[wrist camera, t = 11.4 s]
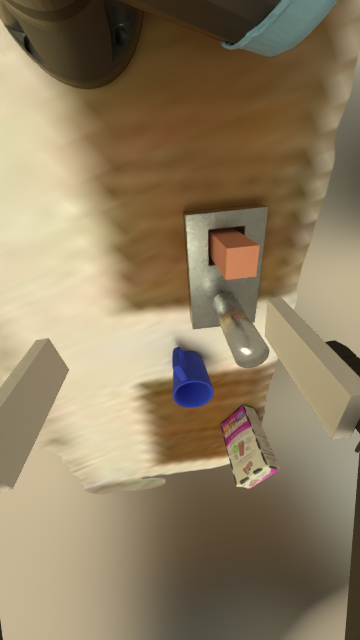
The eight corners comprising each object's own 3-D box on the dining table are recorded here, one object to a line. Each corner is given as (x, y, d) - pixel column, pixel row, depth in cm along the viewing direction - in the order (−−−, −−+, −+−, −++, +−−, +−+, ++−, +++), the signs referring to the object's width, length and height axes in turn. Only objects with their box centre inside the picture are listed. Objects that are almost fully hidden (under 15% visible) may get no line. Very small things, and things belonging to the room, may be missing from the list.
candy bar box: (232, 428, 69) (250, 490, 55) (219, 424, 67) (235, 487, 53) (255, 408, 64) (281, 470, 50) (242, 403, 62) (266, 466, 48)
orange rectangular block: (208, 229, 36) (226, 248, 26) (231, 227, 36) (259, 245, 26) (208, 254, 38) (225, 279, 28) (230, 251, 38) (256, 276, 28)
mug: (190, 329, 47) (196, 362, 38) (210, 365, 53) (219, 399, 45) (156, 344, 48) (155, 378, 40) (179, 377, 54) (183, 412, 46)
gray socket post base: (183, 212, 34) (201, 236, 19) (257, 204, 34) (334, 222, 19) (190, 318, 45) (205, 387, 30) (247, 311, 45) (291, 377, 30)
